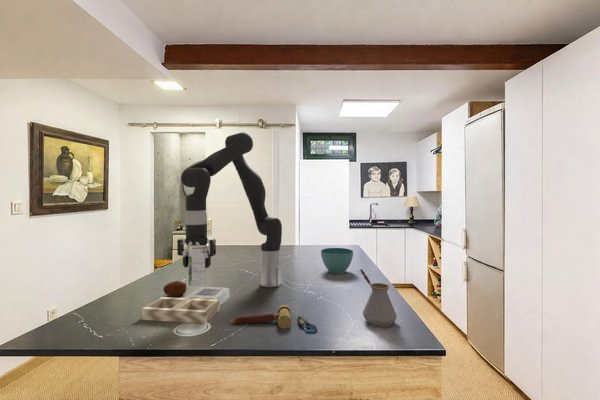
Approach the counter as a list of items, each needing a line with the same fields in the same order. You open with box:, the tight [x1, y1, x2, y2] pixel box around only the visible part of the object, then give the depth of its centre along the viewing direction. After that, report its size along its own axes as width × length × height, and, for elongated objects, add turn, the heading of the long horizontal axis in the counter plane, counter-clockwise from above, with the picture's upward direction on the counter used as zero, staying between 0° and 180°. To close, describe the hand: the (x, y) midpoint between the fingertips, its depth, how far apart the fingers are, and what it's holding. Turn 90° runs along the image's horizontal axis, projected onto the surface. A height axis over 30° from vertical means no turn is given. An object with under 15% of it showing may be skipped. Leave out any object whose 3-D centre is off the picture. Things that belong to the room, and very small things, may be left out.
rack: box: [140, 296, 220, 325], centre depth 111 cm, size 24×12×4 cm, turn 82°
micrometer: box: [297, 315, 318, 334], centre depth 102 cm, size 12×2×5 cm
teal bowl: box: [320, 247, 354, 275], centre depth 171 cm, size 18×18×12 cm
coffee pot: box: [357, 268, 398, 328], centre depth 109 cm, size 21×12×15 cm, turn 14°
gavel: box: [230, 304, 292, 329], centre depth 105 cm, size 21×5×10 cm
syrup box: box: [187, 245, 206, 287], centre depth 110 cm, size 6×6×14 cm
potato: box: [163, 280, 188, 297], centre depth 132 cm, size 7×9×6 cm
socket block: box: [185, 286, 231, 307], centre depth 125 cm, size 13×13×4 cm
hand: (196, 267), depth 110 cm, fingers closed on syrup box, 7 cm apart
